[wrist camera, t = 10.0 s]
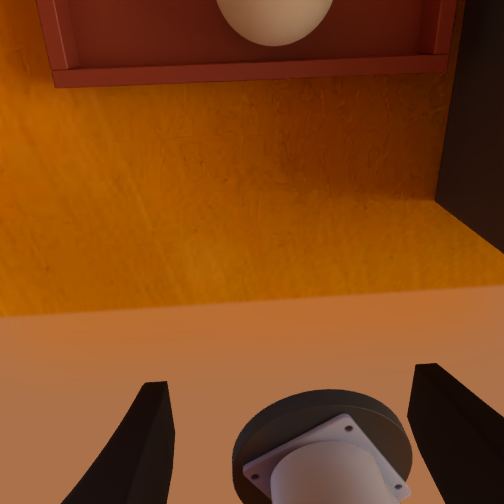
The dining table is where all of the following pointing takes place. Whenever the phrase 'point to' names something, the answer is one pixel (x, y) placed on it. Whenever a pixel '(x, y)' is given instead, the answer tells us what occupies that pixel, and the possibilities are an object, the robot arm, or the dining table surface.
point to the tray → (237, 42)
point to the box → (477, 126)
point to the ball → (274, 19)
